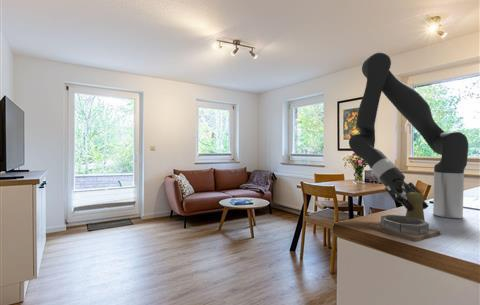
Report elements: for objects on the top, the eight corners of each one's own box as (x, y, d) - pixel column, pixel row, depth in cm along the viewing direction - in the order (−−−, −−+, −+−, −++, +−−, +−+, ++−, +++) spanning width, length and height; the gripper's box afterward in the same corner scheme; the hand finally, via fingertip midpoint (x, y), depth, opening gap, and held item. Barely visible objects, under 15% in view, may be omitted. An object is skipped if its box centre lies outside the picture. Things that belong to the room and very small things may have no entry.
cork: (428, 227, 87) (429, 194, 87) (408, 225, 88) (409, 193, 88) (420, 222, 93) (421, 191, 93) (401, 221, 94) (402, 190, 94)
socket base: (394, 222, 92) (394, 212, 92) (440, 234, 79) (440, 222, 79) (369, 227, 85) (369, 217, 85) (414, 241, 73) (414, 228, 73)
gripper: (382, 166, 93) (416, 204, 83) (405, 166, 100) (439, 201, 90) (369, 179, 98) (399, 217, 88) (391, 178, 105) (422, 213, 95)
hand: (419, 209), depth 89 cm, fingers open, 8 cm apart
